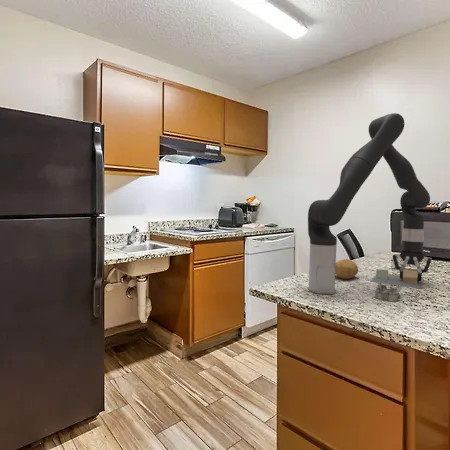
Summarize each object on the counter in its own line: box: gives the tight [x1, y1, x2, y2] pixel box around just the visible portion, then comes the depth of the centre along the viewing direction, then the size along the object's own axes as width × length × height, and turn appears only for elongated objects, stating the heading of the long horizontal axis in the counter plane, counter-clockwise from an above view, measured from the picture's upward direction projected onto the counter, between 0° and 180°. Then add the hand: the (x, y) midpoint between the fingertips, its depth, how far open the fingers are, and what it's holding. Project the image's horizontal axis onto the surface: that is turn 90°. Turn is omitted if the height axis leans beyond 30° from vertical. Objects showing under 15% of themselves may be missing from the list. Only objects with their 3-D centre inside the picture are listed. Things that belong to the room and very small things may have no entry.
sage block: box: [375, 267, 389, 280], centre depth 132 cm, size 4×4×4 cm
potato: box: [335, 258, 359, 280], centre depth 131 cm, size 10×14×8 cm
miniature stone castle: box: [374, 282, 402, 302], centre depth 106 cm, size 10×7×4 cm
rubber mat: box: [370, 273, 425, 290], centre depth 129 cm, size 20×18×1 cm
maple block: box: [403, 267, 418, 284], centre depth 126 cm, size 5×5×5 cm
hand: (410, 280), depth 126 cm, fingers closed on maple block, 5 cm apart
